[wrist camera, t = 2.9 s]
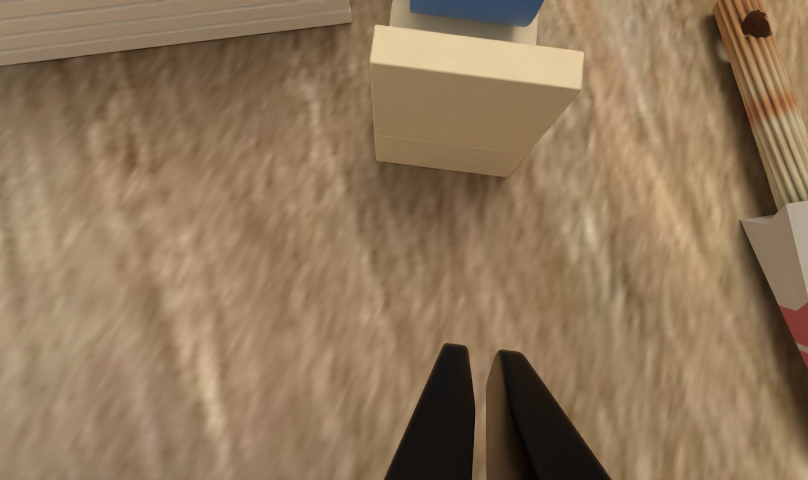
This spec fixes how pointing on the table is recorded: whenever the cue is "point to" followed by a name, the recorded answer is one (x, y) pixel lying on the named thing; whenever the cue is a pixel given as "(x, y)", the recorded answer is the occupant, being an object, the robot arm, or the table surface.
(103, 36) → the stack of papers
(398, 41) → the tape dispenser
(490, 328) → the table surface
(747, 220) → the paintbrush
